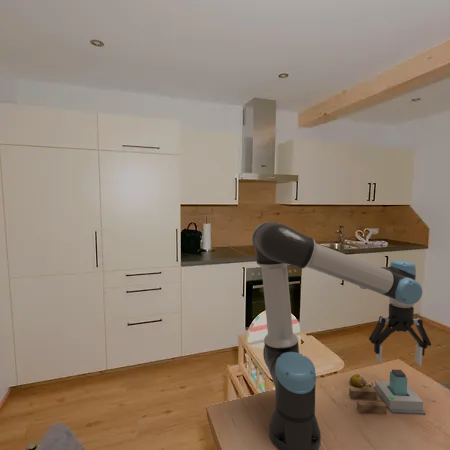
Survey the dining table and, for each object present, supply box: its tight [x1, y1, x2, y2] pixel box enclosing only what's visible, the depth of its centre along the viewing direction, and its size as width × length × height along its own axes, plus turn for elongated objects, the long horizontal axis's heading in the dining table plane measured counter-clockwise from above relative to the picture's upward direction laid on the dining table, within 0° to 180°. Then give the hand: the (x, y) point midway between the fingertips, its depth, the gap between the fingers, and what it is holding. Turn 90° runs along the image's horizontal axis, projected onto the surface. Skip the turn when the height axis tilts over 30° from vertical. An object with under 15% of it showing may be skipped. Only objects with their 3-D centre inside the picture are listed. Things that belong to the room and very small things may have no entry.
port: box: [372, 380, 427, 416], centre depth 105 cm, size 11×14×4 cm
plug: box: [389, 369, 408, 396], centre depth 104 cm, size 4×4×10 cm
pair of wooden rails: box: [348, 387, 388, 415], centre depth 102 cm, size 9×9×3 cm
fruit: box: [349, 373, 374, 388], centre depth 114 cm, size 8×8×4 cm
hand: (398, 363), depth 104 cm, fingers open, 13 cm apart
